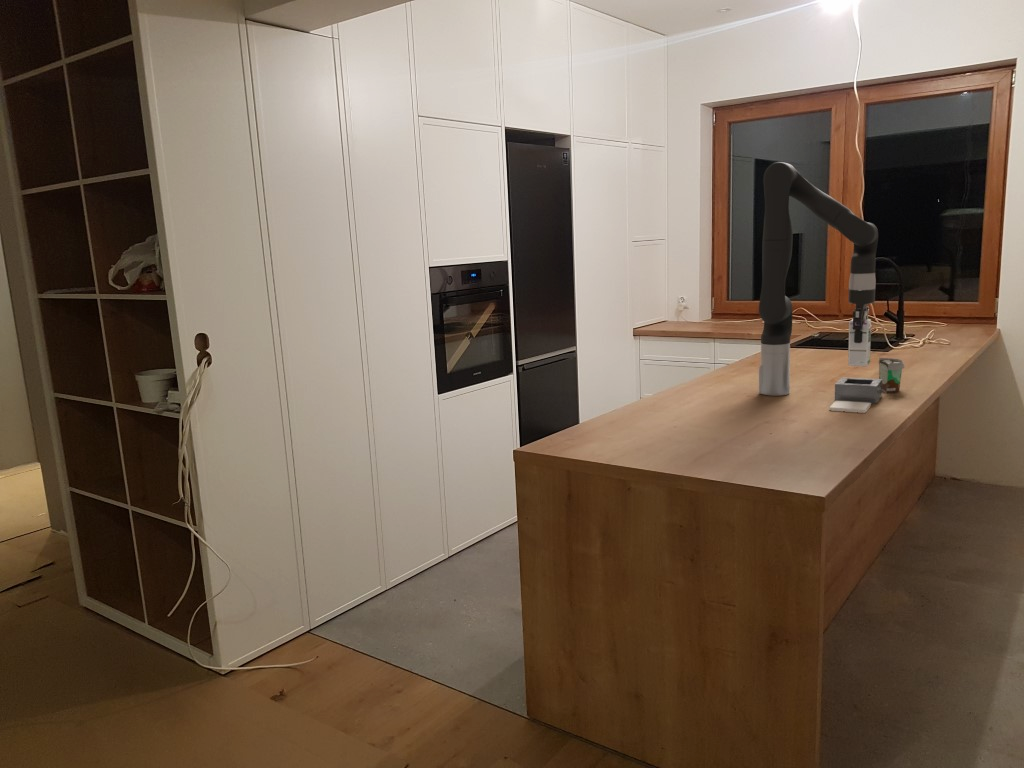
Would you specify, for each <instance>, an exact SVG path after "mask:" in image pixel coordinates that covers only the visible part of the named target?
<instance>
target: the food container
mask: <svg viewBox="0 0 1024 768" xmlns="http://www.w3.org/2000/svg"><path fill="white" fill-rule="evenodd" d="M878 359H879V360H878V379H882V392H884V393H885V392H886V394H897V393H899V392H900V390H901V389H900V387H901V380H902V373H903V369H905V364H904V361H903V359H898V358H892V357H891V358H890V357H889V358H888V357H879V358H878Z"/></svg>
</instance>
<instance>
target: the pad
mask: <svg viewBox="0 0 1024 768" xmlns="http://www.w3.org/2000/svg"><path fill="white" fill-rule="evenodd" d="M871 406H872V403H868V402H852V401H835V400H834V402H833V403H832V404H831V405H830V406H829V411H830V410H831V411H833V412H843V411H845V413H846V412H847V413H857V412H858V413H862V414H866V413H867V411H868V410H869V409H870V408H871Z"/></svg>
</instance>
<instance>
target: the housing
mask: <svg viewBox="0 0 1024 768" xmlns="http://www.w3.org/2000/svg"><path fill="white" fill-rule="evenodd" d="M882 393H883V390H882V379H879V378H866V377H864V378H863V377H847V376H846V377H844V376H841V378H840V379H838V381H837V382H835V384H834V402H835V401H852V402H868V403H871V404H874V405H875V404H877V403H878V402H879V400H880V399H881V397H882V396H883V395H882Z"/></svg>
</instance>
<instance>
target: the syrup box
mask: <svg viewBox="0 0 1024 768" xmlns="http://www.w3.org/2000/svg"><path fill="white" fill-rule="evenodd" d="M856 326H860V324H856ZM854 332H855V331H854V330H853V318H852V319H850V320H849V321H848V349H847V350H848V352H847V353H848V355H847V357H848V358H847V362H848V363H847V365H848V366H849V367H860V368H861V367H862V368H863V367H866V368H867V367H868V366H869V365H870V364H871V345H872V344H871V343H872V341H871V339H872V337H871V336H872V335H871V334H872V319H871V318H868V319H866V321H865V323H864V324H863V333H862V342H861V343H855V342H854Z"/></svg>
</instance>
